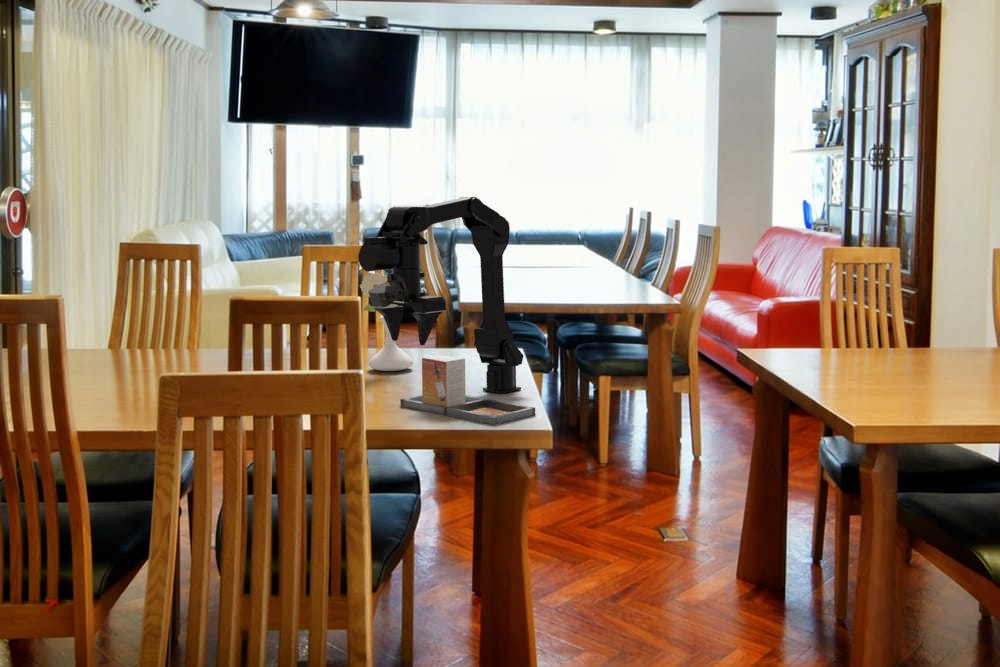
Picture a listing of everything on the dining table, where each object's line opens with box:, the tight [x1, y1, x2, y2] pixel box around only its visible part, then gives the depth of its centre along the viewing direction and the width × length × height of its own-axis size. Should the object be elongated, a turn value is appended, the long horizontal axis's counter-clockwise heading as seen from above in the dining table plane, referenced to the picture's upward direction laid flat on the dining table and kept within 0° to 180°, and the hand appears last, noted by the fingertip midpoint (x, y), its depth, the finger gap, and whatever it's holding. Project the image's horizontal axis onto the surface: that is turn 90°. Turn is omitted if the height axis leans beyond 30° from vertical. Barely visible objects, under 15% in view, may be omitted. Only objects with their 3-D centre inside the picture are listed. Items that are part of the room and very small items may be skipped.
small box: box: [421, 354, 466, 407], centre depth 230 cm, size 8×6×10 cm
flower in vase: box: [359, 271, 414, 372], centre depth 274 cm, size 13×11×25 cm
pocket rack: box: [399, 394, 536, 426], centre depth 226 cm, size 12×28×2 cm, turn 46°
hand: (408, 342), depth 225 cm, fingers open, 9 cm apart
